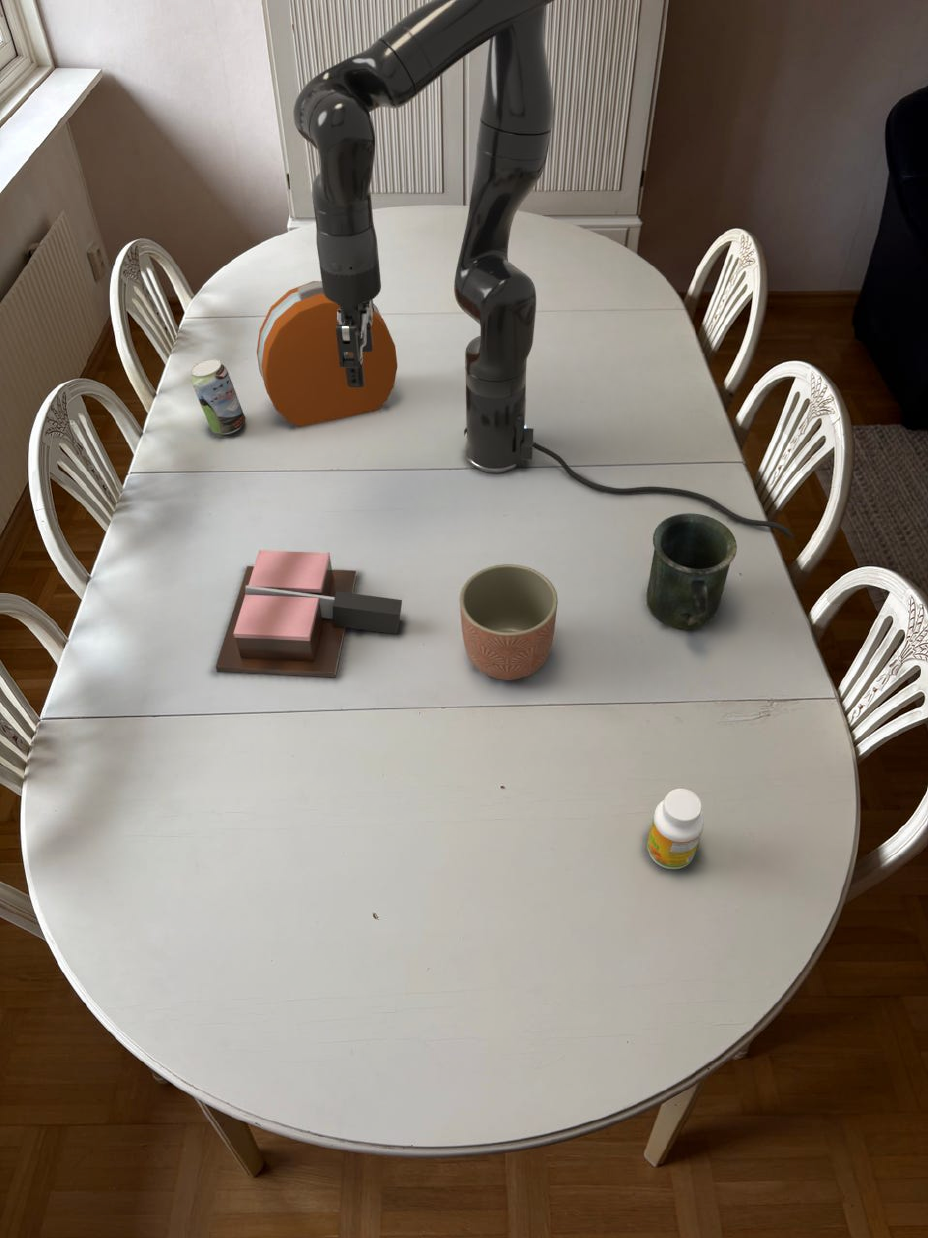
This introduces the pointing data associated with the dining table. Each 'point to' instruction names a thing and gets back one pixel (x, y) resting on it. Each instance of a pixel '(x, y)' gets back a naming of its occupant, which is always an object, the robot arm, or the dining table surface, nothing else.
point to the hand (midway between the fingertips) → (360, 367)
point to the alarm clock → (319, 360)
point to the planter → (508, 620)
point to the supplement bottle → (676, 829)
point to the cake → (286, 618)
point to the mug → (689, 569)
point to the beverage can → (217, 396)
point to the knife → (349, 609)
